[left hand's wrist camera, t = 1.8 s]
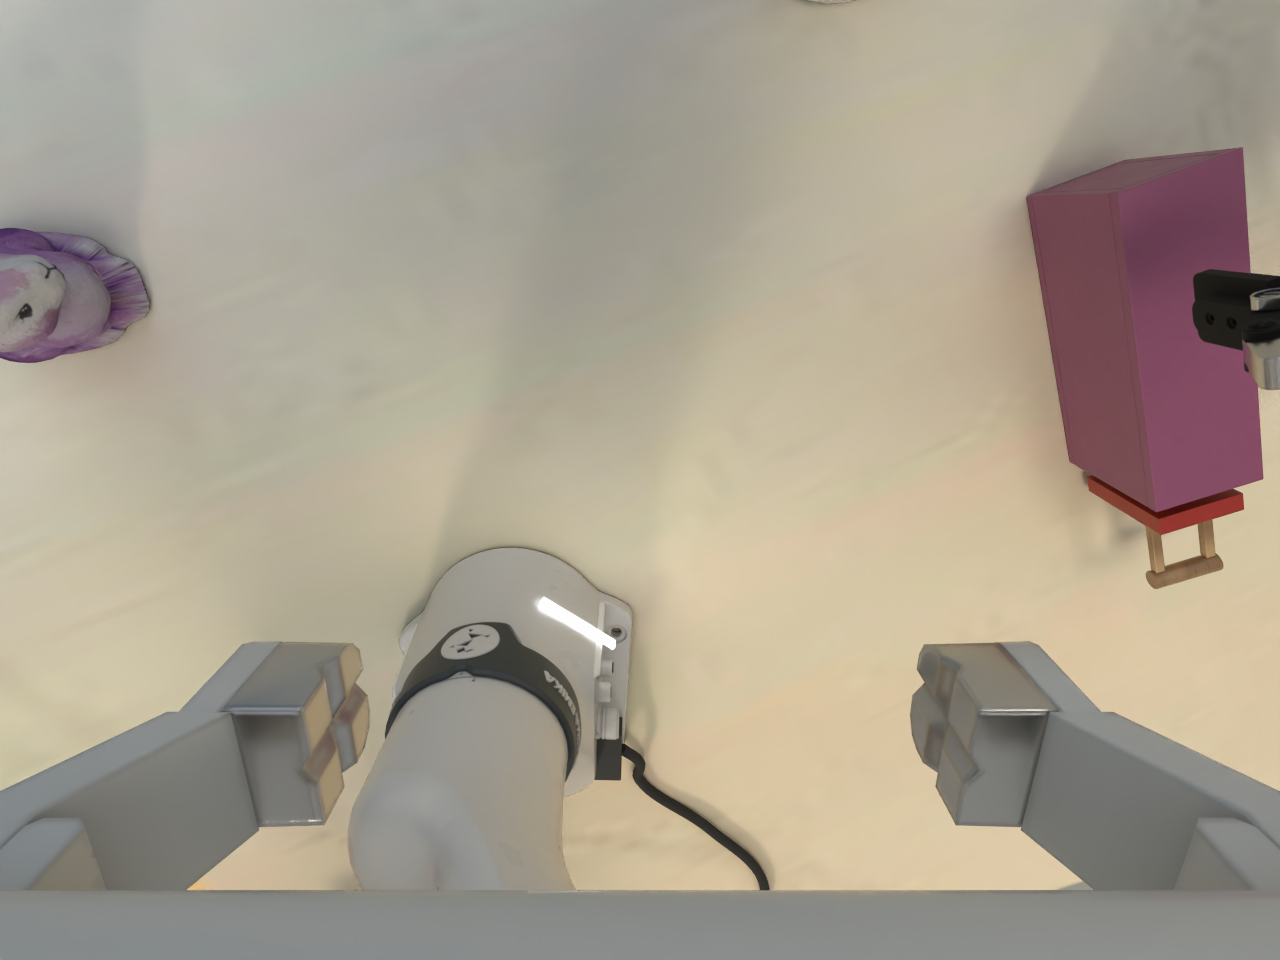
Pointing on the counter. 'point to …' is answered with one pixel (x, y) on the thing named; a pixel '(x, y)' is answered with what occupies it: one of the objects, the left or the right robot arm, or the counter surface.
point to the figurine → (63, 295)
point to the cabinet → (1148, 325)
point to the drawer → (1172, 521)
